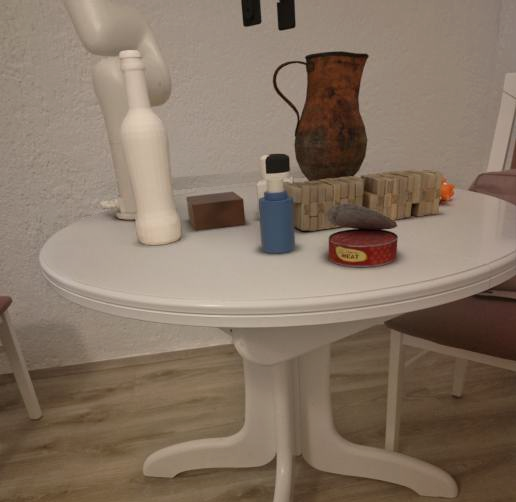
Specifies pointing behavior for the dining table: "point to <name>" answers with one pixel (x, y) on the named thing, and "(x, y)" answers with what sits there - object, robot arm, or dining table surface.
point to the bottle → (147, 158)
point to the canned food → (361, 237)
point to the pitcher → (330, 116)
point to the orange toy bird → (446, 190)
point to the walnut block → (215, 210)
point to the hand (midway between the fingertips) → (270, 27)
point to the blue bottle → (276, 218)
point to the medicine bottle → (272, 171)
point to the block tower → (366, 196)
